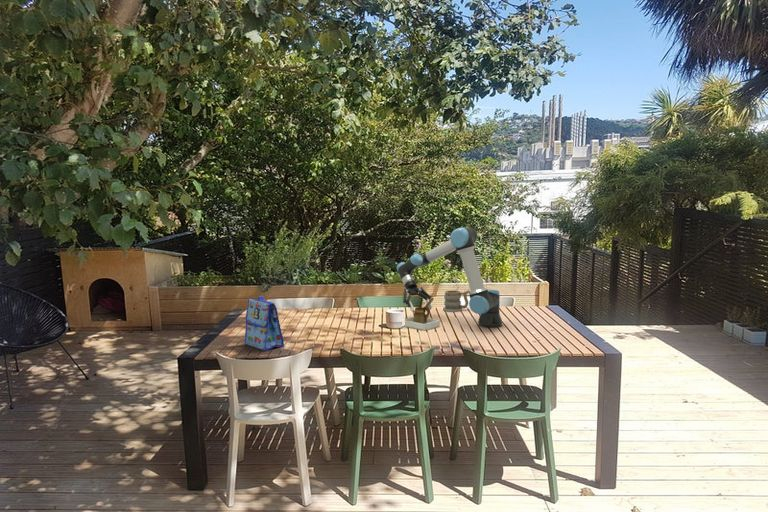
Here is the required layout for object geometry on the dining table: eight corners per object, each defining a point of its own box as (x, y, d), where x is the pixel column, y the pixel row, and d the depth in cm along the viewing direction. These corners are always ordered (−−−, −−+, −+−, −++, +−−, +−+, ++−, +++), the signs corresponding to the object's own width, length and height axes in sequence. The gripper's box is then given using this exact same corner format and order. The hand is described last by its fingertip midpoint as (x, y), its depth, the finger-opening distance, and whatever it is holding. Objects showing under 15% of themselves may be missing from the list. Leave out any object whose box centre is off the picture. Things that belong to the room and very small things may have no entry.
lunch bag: (244, 344, 309) (241, 295, 306) (264, 340, 318) (262, 292, 316) (264, 351, 294) (262, 299, 291) (285, 346, 303) (283, 296, 300)
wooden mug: (430, 327, 338) (430, 299, 336) (410, 325, 343) (410, 298, 342) (435, 324, 346) (435, 296, 344) (415, 323, 351) (415, 295, 350)
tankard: (442, 311, 387) (442, 291, 386) (445, 308, 400) (445, 288, 398) (470, 313, 382) (470, 292, 380) (472, 309, 394) (472, 289, 392)
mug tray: (439, 326, 342) (439, 320, 342) (424, 330, 332) (424, 324, 332) (417, 322, 357) (417, 316, 356) (401, 325, 347) (401, 319, 346)
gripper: (423, 284, 361) (436, 310, 350) (391, 288, 350) (403, 315, 338) (427, 278, 356) (440, 303, 345) (394, 281, 345) (407, 308, 333)
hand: (422, 309), depth 341 cm, fingers open, 13 cm apart
